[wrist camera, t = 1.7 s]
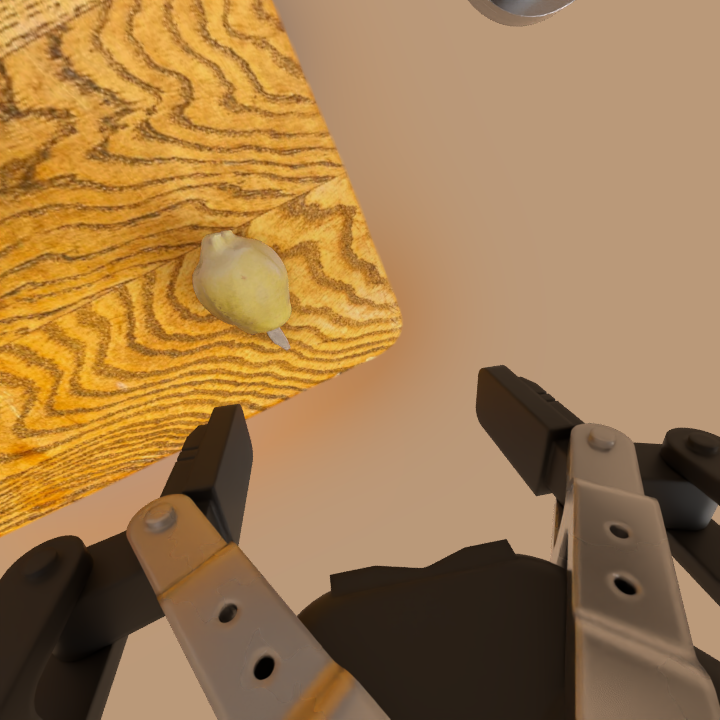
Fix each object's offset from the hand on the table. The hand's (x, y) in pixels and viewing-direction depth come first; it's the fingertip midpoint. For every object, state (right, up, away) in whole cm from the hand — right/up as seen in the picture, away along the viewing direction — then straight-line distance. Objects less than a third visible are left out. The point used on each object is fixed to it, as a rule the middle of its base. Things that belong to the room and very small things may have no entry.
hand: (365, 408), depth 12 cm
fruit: (-8, +7, +15) cm, 19 cm away
